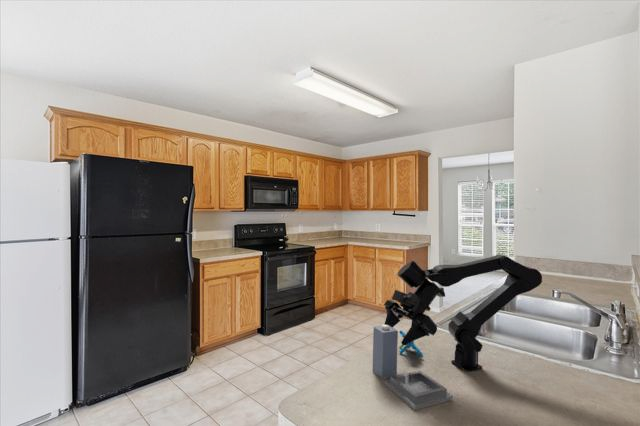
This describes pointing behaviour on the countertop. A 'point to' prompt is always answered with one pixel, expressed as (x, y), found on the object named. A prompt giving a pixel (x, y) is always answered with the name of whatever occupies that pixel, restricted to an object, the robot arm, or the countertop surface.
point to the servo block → (385, 351)
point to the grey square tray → (418, 390)
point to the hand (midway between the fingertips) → (392, 338)
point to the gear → (409, 345)
